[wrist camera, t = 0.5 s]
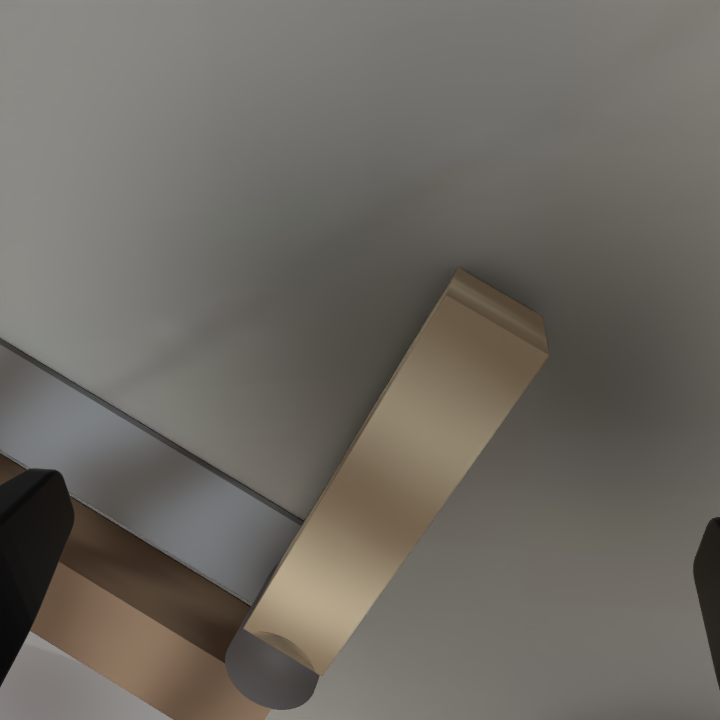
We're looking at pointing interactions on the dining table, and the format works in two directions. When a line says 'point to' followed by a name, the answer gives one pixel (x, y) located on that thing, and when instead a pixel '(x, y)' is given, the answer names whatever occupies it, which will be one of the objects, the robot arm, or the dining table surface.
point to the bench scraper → (141, 546)
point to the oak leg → (388, 487)
